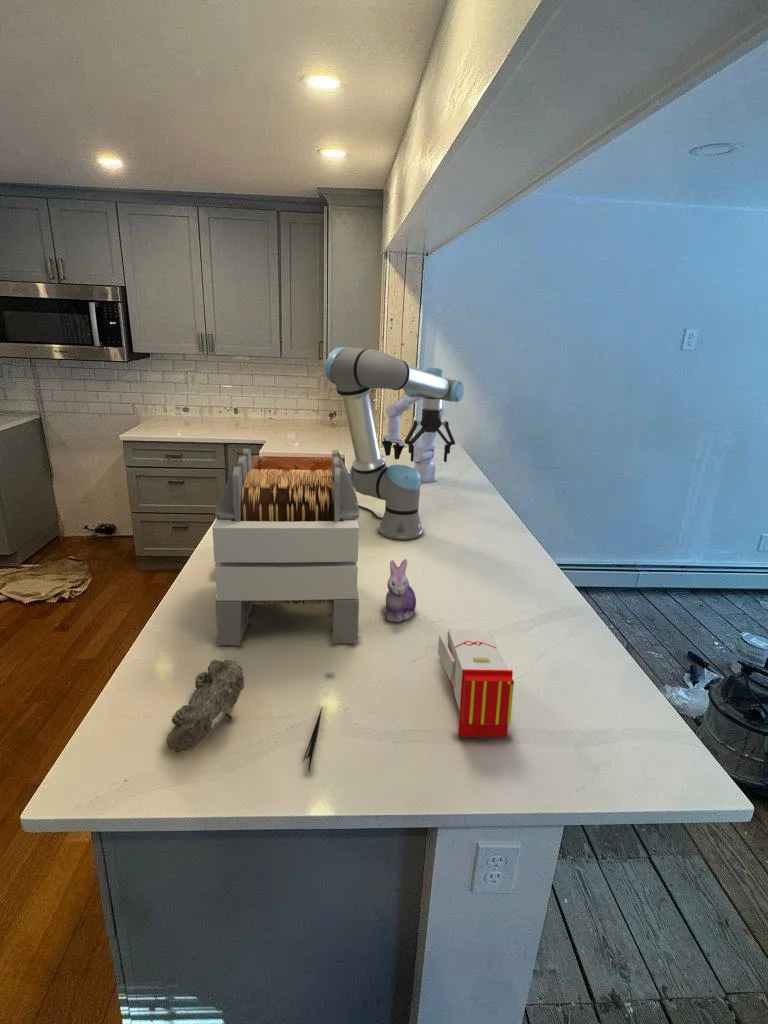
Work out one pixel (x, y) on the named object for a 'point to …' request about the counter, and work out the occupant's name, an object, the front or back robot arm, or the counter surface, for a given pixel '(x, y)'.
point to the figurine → (399, 594)
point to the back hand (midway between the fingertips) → (392, 457)
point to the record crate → (286, 545)
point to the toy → (478, 682)
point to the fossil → (206, 705)
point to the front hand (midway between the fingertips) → (428, 461)
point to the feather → (313, 740)
